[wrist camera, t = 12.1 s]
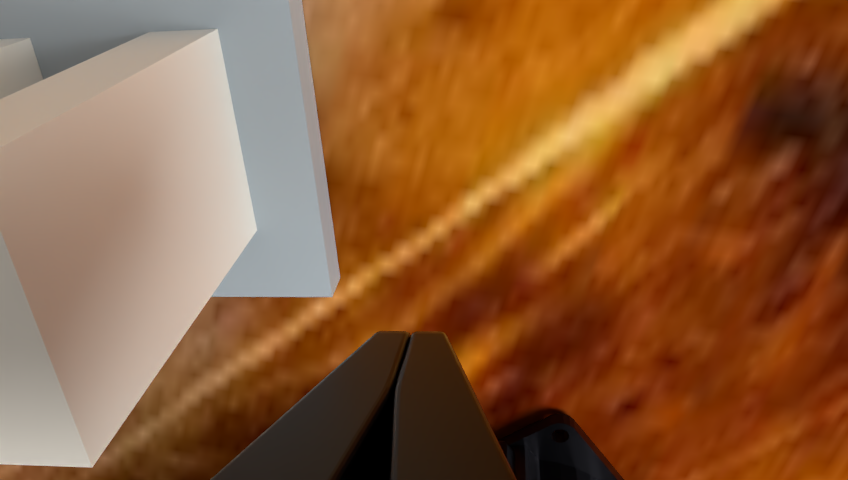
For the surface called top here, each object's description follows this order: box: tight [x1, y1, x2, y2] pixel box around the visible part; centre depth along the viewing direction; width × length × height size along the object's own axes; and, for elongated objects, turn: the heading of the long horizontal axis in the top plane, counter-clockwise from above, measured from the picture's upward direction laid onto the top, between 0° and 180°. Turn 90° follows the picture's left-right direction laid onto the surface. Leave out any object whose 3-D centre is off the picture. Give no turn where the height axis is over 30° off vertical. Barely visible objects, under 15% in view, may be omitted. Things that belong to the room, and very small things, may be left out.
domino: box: [0, 29, 257, 467], centre depth 13 cm, size 2×5×8 cm, turn 3°
